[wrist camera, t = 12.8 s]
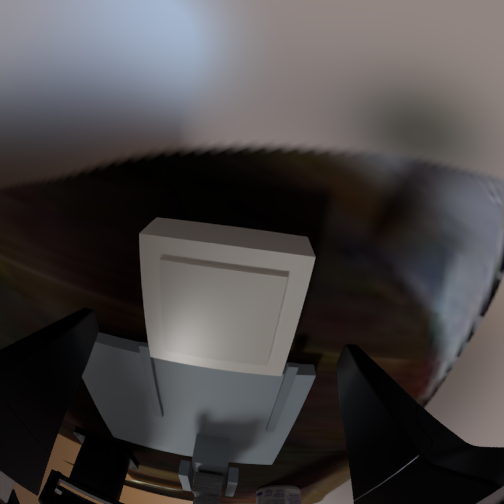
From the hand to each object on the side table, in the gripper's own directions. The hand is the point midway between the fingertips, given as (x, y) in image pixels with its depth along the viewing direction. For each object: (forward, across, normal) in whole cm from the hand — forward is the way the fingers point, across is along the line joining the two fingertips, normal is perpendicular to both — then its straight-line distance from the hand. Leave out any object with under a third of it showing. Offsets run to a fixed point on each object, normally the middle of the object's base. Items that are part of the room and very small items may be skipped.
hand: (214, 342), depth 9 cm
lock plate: (+3, +2, +11) cm, 11 cm away
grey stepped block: (0, 0, +17) cm, 17 cm away
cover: (+4, 0, 0) cm, 4 cm away
